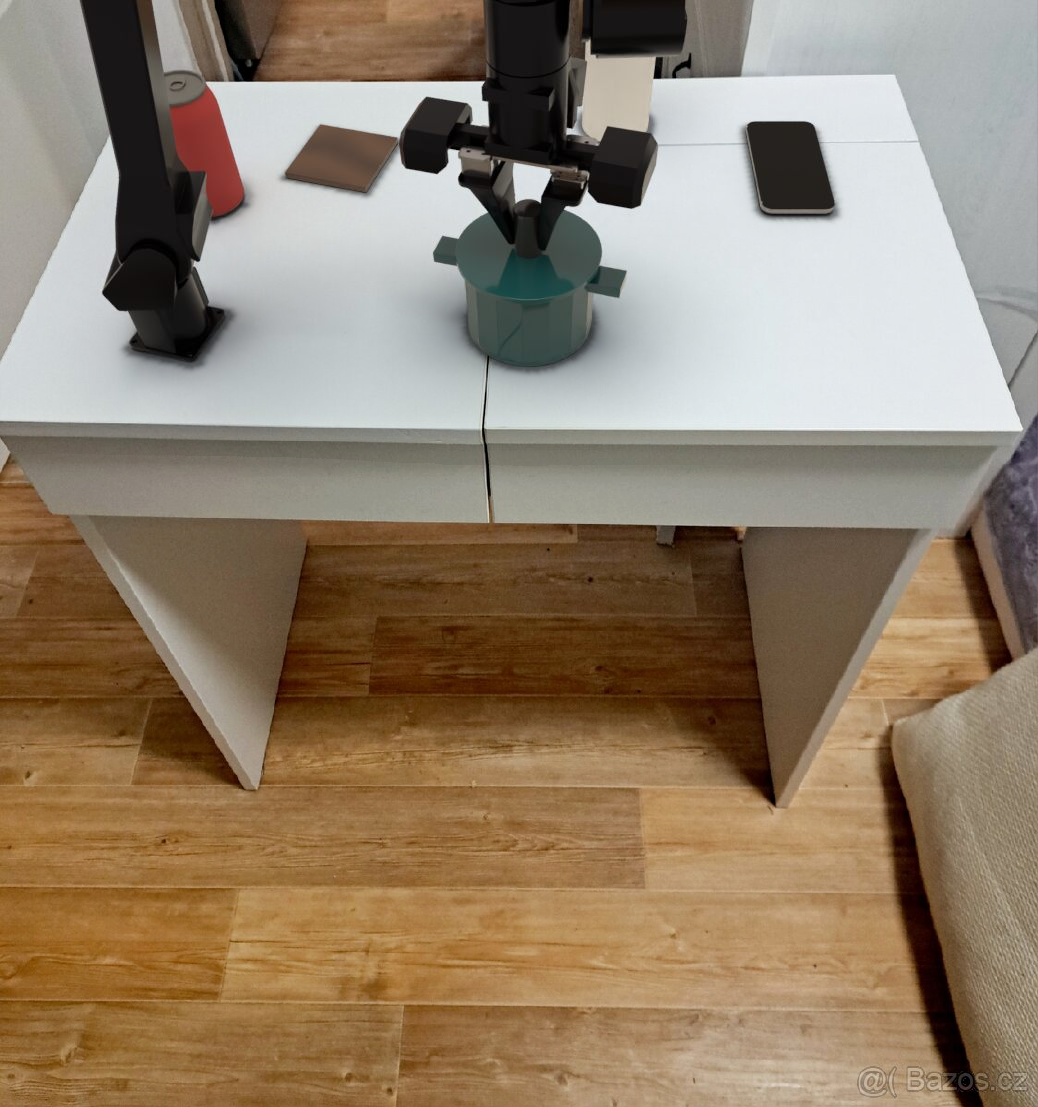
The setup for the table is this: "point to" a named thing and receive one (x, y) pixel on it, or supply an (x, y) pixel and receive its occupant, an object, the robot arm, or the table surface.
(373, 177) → the trivet
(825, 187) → the smartphone
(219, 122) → the beer can
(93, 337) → the table surface
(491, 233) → the lid
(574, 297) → the pot
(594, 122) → the cylindrical container
